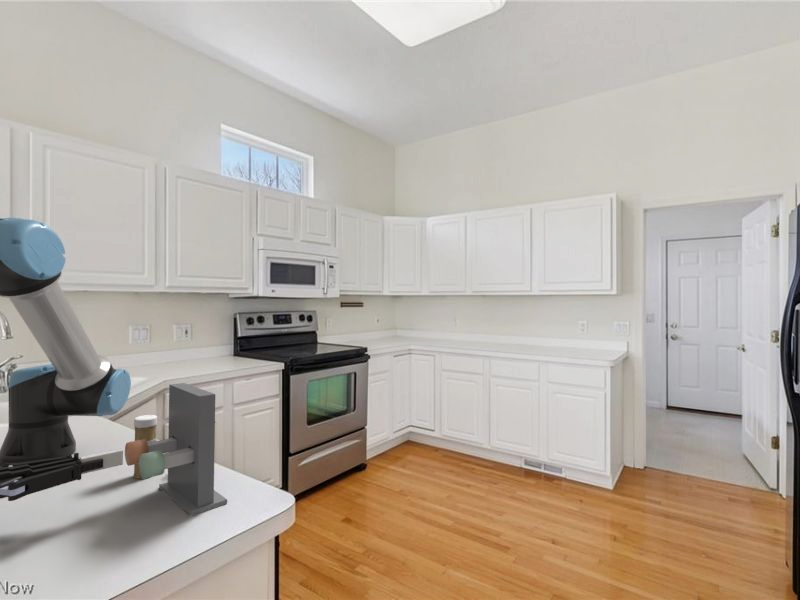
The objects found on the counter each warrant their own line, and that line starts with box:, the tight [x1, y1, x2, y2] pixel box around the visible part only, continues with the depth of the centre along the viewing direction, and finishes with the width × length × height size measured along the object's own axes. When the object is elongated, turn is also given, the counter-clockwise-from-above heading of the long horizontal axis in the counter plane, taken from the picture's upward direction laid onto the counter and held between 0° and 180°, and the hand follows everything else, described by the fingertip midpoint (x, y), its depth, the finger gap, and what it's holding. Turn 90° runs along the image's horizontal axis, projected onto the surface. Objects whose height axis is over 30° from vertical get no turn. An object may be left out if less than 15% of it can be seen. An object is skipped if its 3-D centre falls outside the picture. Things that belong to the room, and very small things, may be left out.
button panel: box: [158, 382, 228, 516], centre depth 89 cm, size 17×7×22 cm, turn 47°
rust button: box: [124, 437, 177, 466], centre depth 88 cm, size 4×12×4 cm, turn 137°
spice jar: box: [133, 414, 158, 479], centre depth 98 cm, size 5×5×14 cm
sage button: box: [139, 447, 195, 480], centre depth 82 cm, size 4×12×4 cm, turn 137°
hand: (121, 456), depth 83 cm, fingers closed
